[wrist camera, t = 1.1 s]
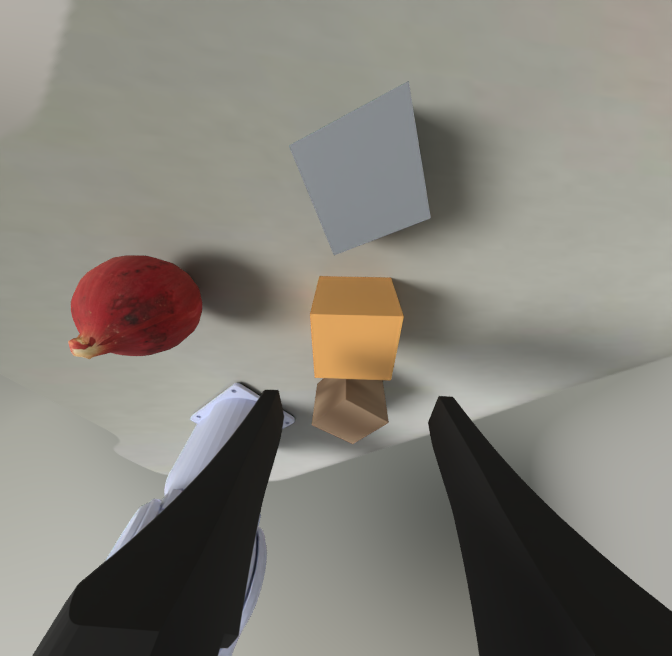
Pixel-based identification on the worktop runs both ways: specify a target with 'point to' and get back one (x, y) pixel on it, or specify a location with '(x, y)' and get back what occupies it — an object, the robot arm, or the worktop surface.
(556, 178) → the worktop surface
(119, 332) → the onion
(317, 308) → the orange block
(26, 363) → the worktop surface
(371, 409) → the walnut block
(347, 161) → the slate block
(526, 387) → the worktop surface
